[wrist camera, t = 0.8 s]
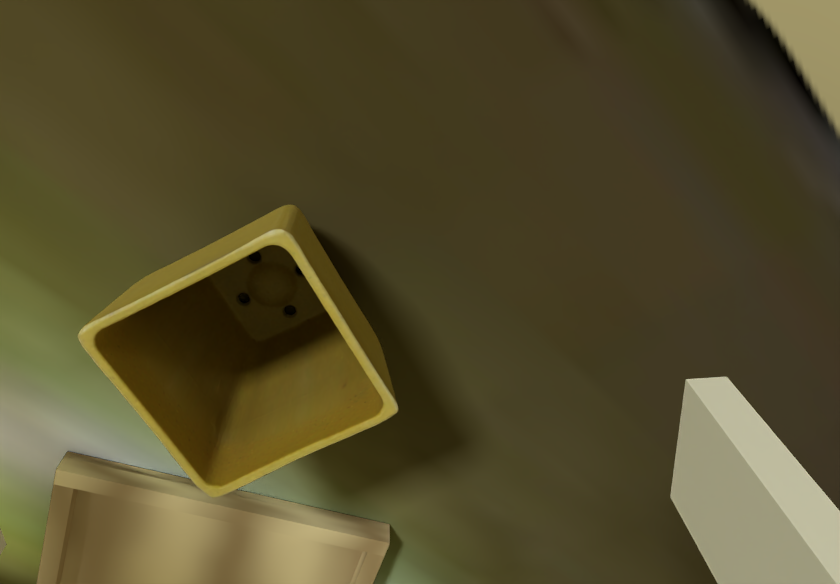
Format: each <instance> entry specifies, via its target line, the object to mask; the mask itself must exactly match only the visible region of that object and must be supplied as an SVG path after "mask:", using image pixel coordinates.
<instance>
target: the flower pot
mask: <svg viewBox="0 0 840 584" xmlns="http://www.w3.org/2000/svg"><path fill="white" fill-rule="evenodd" d="M256 251H258V252H259V253H260V255H261V258H260V260H259V261H256V262H255V261H252V260H251V259H250V258H249V255H250V254H252V253H254V252H256ZM297 265H298V266H299V268H300V270H301V271H302V273H303V275H301V274H299V273H297V271H296V267H297ZM241 293H246V294H248V295H249V297H250V301H249V302H247V303H242V302H241V301H240V300H239V298H238V296H239V294H241ZM288 305H291V306H293V307H295V309H296V312H295V313H294V314H293V315H288V314H286V313H285V311H284V308H285V307H286V306H288ZM78 339H79V341H80V343H81V345H82V346H83V348H84V349H85V351H86V352H87V353H88V354H89V355H90V357H91V358H92V359H93V361H94V362H95V363H96V364H97V365H98V367H99V368H100V369H101V370H102V372H103V373H104V374H105V375H106V376H107V377H108V378H109V380H110V381H111V382H112V383H113V384H114V385H115V387H116V388H117V389H118V390H119V391H120V393H121V394H122V395H123V396H124V398H125V399H126V400H127V401H128V402H129V403H130V405H131V406H132V407H133V408H134V409H135V411H136V412H137V413H138V414H139V415H140V417H141V418H142V419H143V420H144V421H145V423H146V424H147V425H148V426H149V428H150V429H151V430H152V431H153V432H154V434H155V435H156V436H157V437H158V439H159V440H160V441H161V442H162V444H163V445H164V446H165V447H166V449H167V450H168V451H169V453H170V454H171V455H172V456H173V458H174V459H175V460H176V461H177V462H178V464H179V465H180V466H181V467H182V469H183V470H184V471H185V473H186V474H187V475H188V476H189V477H190V479H191V480H192V481H193V482H194V484H195V485H196V486H197V487H199V488H200V489H201V490H202V491H203V492H204V493H206V494H207V495H208V496H210V497H212V498H216V497H220V496H223V495H225V494H228V493H230V492H232V491H234V490H236V489H238V488H240V487H242V486H245V485H246V484H248V483H251V482H253V481H255V480H256V479H258V478H260V477H262V476H264V475H267V474H269V473H271V472H273V471H275V470H277V469H279V468H281V467H283V466H285V465H287V464H289V463H291V462H293V461H295V460H297V459H299V458H301V457H304V456H306V455H308V454H310V453H313V452H315V451H317V450H320V449H322V448H324V447H326V446H329V445H331V444H334V443H336V442H339V441H341V440H343V439H345V438H348V437H350V436H352V435H355V434H357V433H359V432H361V431H364V430H366V429H368V428H371V427H373V426H376V425H378V424H380V423H381V422H383V421H385V420H387V419H388V418H390V417H392V416H393V415H394V414H396V413H397V412H398V410H399V409H398V404H397V401H396V398H395V394H394V391H393V387H392V383H391V379H390V375H389V372H388V368H387V365H386V361H385V358H384V354H383V351H382V348H381V345H380V343H379V340H378V338H377V336H376V334H375V333H374V331H373V329H372V327H371V326H370V324H369V323H368V321H367V320H366V318H365V316H364V315H363V313H362V312H361V310H360V308H359V307H358V305H357V303H356V302H355V300H354V299H353V297H352V295H351V294H350V292H349V291H348V289H347V287H346V286H345V284H344V282H343V281H342V279H341V277H340V276H339V274H338V272H337V271H336V269H335V268H334V266H333V264H332V263H331V261H330V259H329V258H328V256H327V254H326V252H325V251H324V249H323V247H322V246H321V244H320V242H319V241H318V239H317V237H316V236H315V234H314V232H313V230H312V229H311V227H310V225H309V223H308V222H307V220H306V218H305V216H304V215H303V213H302V212H301V211H300V209H299V208H298V207H296V206H294V205H285V206H282V207H280V208H278V209H276V210H274V211H272V212H270V213H268V214H267V215H265V216H263V217H261V218H259V219H257V220H255V221H253V222H252V223H250V224H248V225H246V226H244V227H242V228H240V229H238V230H237V231H235V232H233V233H231V234H229V235H227V236H225V237H223V238H221V239H219V240H217V241H215V242H214V243H212V244H210V245H208V246H206V247H204V248H202V249H200V250H198V251H196V252H194V253H192V254H190V255H188V256H186V257H184V258H182V259H180V260H178V261H176V262H174V263H172V264H170V265H168V266H166V267H164V268H162V269H160V270H158V271H156V272H153V273H151V274H150V275H148V276H146V277H144V278H143V279H141V280H140V281H138V282H137V283H135V284H134V285H133V286H131V287H130V288H129V289H128V290H127V291H125V292H124V293H123V294H122V295H121V296H119V297H118V298H117V299H116V300H114V301H113V302H112V303H111V304H110V305H108V306H107V307H106V308H105V309H104V310H103V311H101V312H100V313H99V314H98V315H96V316H95V317H94V318H93V319H92V320H91V321H89V322H88V323H87V324H86V325H85V326H84V327H83V328H82V329H81V330H80V332H79V334H78Z"/></svg>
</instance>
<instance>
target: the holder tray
mask: <svg viewBox="0 0 840 584" xmlns="http://www.w3.org/2000/svg"><path fill="white" fill-rule="evenodd" d="M389 544H390V524H386V523H382V522H378V521H373V520H369V519H364V518H360V517H356V516H351V515H347V514H342V513H338V512H334V511H329V510H325V509H320V508H316V507H311V506H307V505H303V504H298V503H294V502H289V501H285V500H281V499H276V498H272V497H267V496H263V495H258V494H254V493H250V492H245V491H241V490H234V491H232V492H230V493H228V494H225V495H223V496H220V497H216V498H212V497H210V496H208V495H207V494H206V493H204V492H203V491H202V490H201V489H200V488H199V487H197V486H196V485H195V484H194V482H193V481H192V480H191V479H188V478H183V477H179V476H175V475H170V474H166V473H161V472H157V471H153V470H148V469H144V468H139V467H135V466H130V465H126V464H122V463H117V462H113V461H108V460H104V459H100V458H95V457H91V456H86V455H82V454H77V453H73V452H69V451H67V453H66V454H65V456H64V458H63V459H62V461H61V462H60V464H59V465H58V467H57V468H56V472H55V478H54V484H53V490H52V496H51V502H50V508H49V513H48V519H47V525H46V531H45V537H44V543H43V549H42V555H41V561H40V567H39V573H38V578H37V584H373V582H374V580H375V578H376V575H377V573H378V570H379V568H380V566H381V563H382V561H383V559H384V556H385V554H386V551H387V549H388V547H389Z"/></svg>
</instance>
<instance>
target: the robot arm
mask: <svg viewBox="0 0 840 584" xmlns="http://www.w3.org/2000/svg"><path fill="white" fill-rule="evenodd" d="M670 497H671V499H672V501H673V503H674V504H675V506H676V508H677V510H678V512H679V514H680V515H681V517H682V519H683V521H684V523H685V525H686V526H687V528H688V530H689V532H690V534H691V536H692V537H693V539H694V541H695V543H696V545H697V547H698V548H699V550H700V552H701V554H702V556H703V558H704V559H705V561H706V563H707V565H708V567H709V569H710V570H711V572H712V574H713V576H714V578H715V579H716V581H717V583H718V584H840V511H839V510H838V509H837V507H836V506H835V505H834V504H833V503H832V502H831V500H830V499H829V498H828V497H827V496H826V494H825V493H824V492H823V491H822V490H821V488H820V487H819V486H818V485H817V484H816V482H815V481H814V480H813V479H812V478H811V477H810V475H809V474H808V473H807V472H806V471H805V469H804V468H803V467H802V466H801V465H800V463H799V462H798V461H797V460H796V459H795V457H794V456H793V455H792V454H791V453H790V452H789V450H788V449H787V448H786V447H785V446H784V444H783V443H782V442H781V441H780V440H779V438H778V437H777V436H776V435H775V434H774V432H773V431H772V430H771V429H770V428H769V427H768V425H767V424H766V423H765V422H764V421H763V419H762V418H761V417H760V416H759V415H758V413H757V412H756V411H755V410H754V409H753V407H752V406H751V405H750V404H749V403H748V402H747V400H746V399H745V398H744V397H743V396H742V394H741V393H740V392H739V391H738V390H737V388H736V387H735V386H734V385H733V384H732V382H731V381H730V380H729V379H728V378H727V377H715V378H700V379H686V382H685V389H684V397H683V404H682V412H681V420H680V427H679V435H678V442H677V450H676V457H675V465H674V472H673V480H672V488H671V495H670ZM6 545H7V544H6V542H5V539H4V536H3V534H2V531H1V528H0V554H1V553H2V551H3V549H4V548H5V546H6Z"/></svg>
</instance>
